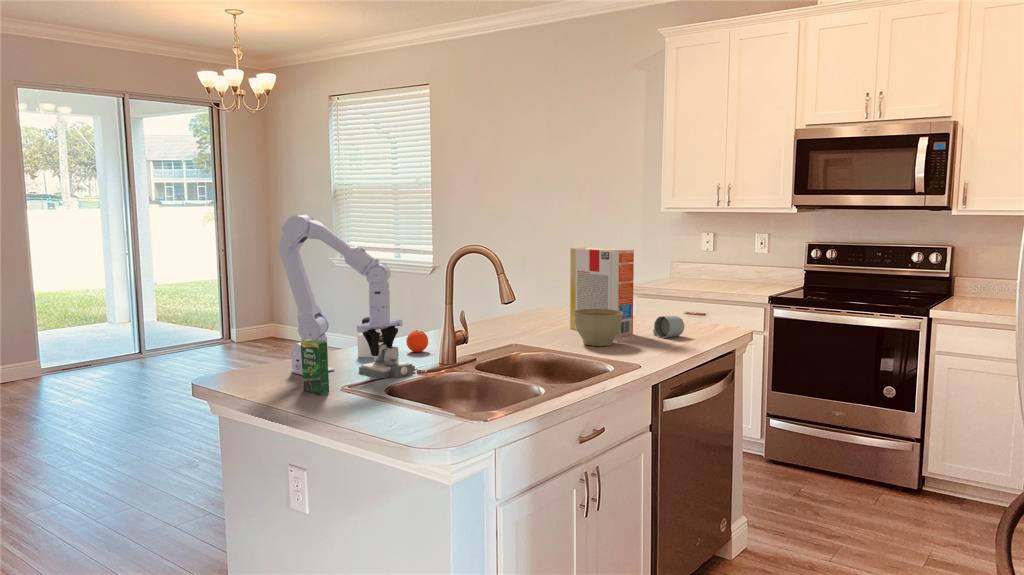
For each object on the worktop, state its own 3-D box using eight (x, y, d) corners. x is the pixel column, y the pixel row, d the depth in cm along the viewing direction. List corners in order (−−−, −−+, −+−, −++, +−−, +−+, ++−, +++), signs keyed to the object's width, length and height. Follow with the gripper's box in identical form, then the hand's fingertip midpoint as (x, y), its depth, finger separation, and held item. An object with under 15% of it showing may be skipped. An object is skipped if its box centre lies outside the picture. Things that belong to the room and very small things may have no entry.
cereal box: (632, 334, 265) (633, 250, 261) (618, 337, 260) (618, 251, 256) (585, 326, 282) (585, 247, 278) (570, 329, 277) (570, 248, 273)
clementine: (429, 349, 241) (429, 327, 240) (433, 353, 234) (433, 330, 234) (404, 350, 239) (404, 328, 238) (408, 354, 232) (408, 332, 231)
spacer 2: (388, 367, 204) (388, 349, 204) (381, 365, 207) (381, 347, 207) (401, 365, 207) (400, 347, 206) (394, 363, 210) (393, 345, 209)
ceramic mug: (686, 337, 259) (686, 315, 258) (669, 339, 254) (669, 317, 253) (663, 333, 267) (663, 312, 266) (647, 335, 263) (647, 314, 262)
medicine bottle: (379, 358, 227) (378, 319, 226) (357, 357, 229) (356, 318, 227) (387, 353, 234) (386, 315, 233) (366, 352, 236) (365, 315, 234)
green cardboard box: (301, 390, 189) (299, 339, 188) (311, 388, 191) (309, 338, 190) (320, 395, 184) (318, 343, 182) (330, 393, 186) (328, 341, 185)
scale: (388, 379, 200) (388, 369, 199) (359, 372, 208) (358, 362, 208) (419, 372, 208) (419, 362, 208) (390, 365, 217) (389, 356, 216)
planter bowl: (611, 350, 236) (611, 316, 235) (565, 346, 244) (565, 313, 243) (629, 342, 250) (630, 310, 249) (585, 337, 258) (586, 307, 257)
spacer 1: (379, 363, 208) (378, 345, 207) (370, 361, 210) (370, 344, 210) (390, 361, 210) (390, 343, 210) (382, 359, 213) (381, 341, 213)
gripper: (367, 311, 200) (368, 360, 202) (408, 305, 211) (410, 352, 213) (351, 308, 205) (353, 357, 207) (393, 303, 216) (394, 349, 217)
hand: (380, 354), depth 210 cm, fingers closed on spacer 1, 4 cm apart
